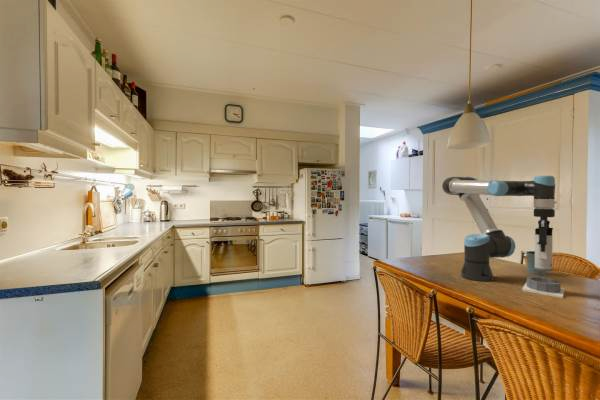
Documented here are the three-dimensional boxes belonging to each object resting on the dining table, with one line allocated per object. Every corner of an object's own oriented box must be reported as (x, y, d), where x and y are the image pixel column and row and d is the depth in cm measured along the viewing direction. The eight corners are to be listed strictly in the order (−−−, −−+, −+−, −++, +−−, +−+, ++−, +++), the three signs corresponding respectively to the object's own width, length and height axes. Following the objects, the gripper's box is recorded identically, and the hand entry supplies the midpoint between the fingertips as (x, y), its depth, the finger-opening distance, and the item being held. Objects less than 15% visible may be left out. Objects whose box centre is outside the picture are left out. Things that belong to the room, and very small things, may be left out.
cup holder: (522, 290, 132) (522, 280, 132) (526, 284, 142) (526, 274, 142) (563, 298, 122) (563, 286, 122) (564, 290, 132) (564, 280, 132)
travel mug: (556, 271, 129) (556, 228, 128) (539, 271, 130) (540, 228, 130) (547, 268, 135) (547, 227, 134) (531, 267, 136) (532, 226, 136)
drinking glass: (546, 272, 164) (547, 252, 164) (550, 276, 155) (550, 255, 155) (524, 270, 169) (525, 250, 169) (527, 274, 161) (527, 253, 160)
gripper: (553, 209, 122) (552, 262, 123) (555, 208, 136) (555, 255, 136) (531, 208, 128) (530, 259, 128) (535, 207, 141) (535, 253, 142)
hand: (543, 257), depth 132 cm, fingers closed on travel mug, 6 cm apart
